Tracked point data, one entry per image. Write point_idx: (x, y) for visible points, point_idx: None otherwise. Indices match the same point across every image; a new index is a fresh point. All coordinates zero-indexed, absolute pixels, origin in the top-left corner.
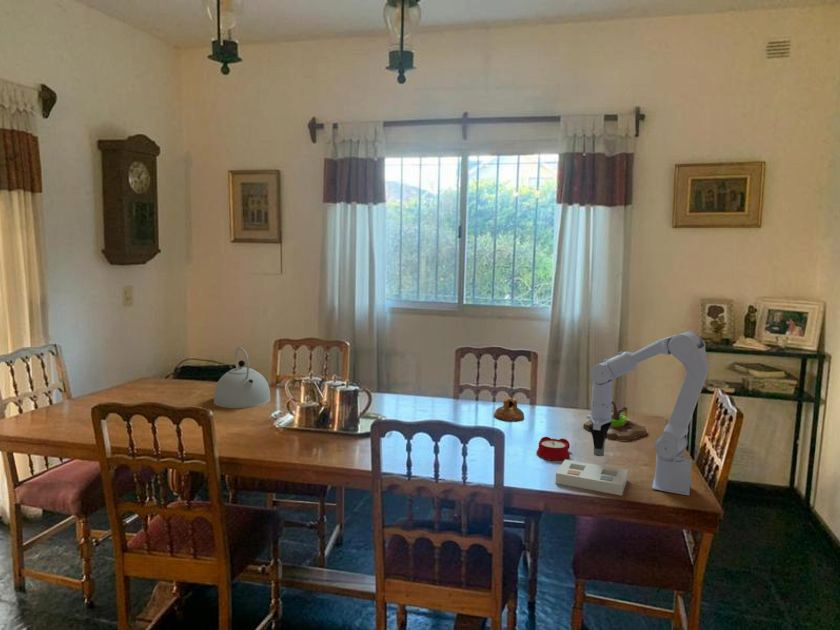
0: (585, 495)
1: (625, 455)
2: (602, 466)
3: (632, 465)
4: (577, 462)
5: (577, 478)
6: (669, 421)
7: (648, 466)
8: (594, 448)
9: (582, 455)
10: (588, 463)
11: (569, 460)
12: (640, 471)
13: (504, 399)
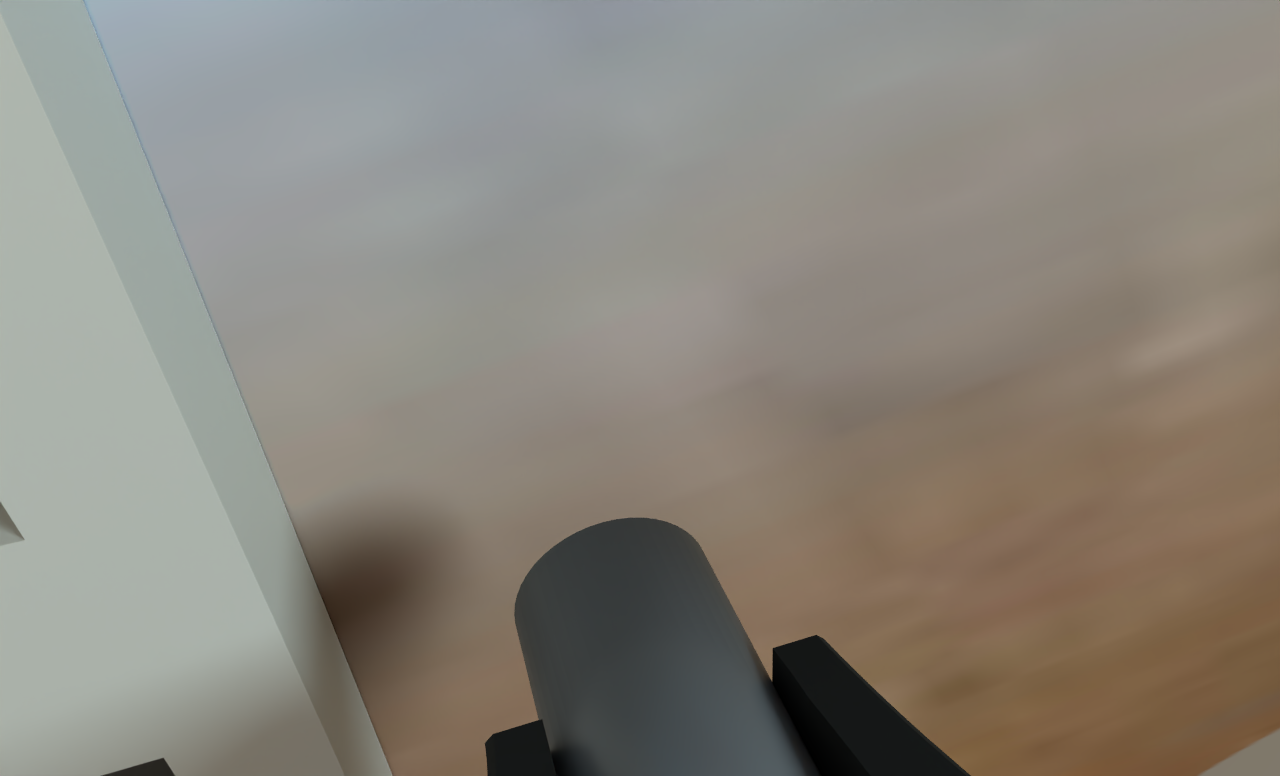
0: None
1: (1170, 472)
2: (273, 710)
3: (885, 633)
4: (72, 333)
5: None
6: None
7: (916, 720)
8: (576, 663)
9: (1041, 8)
10: (221, 515)
11: (23, 116)
12: None
13: None
